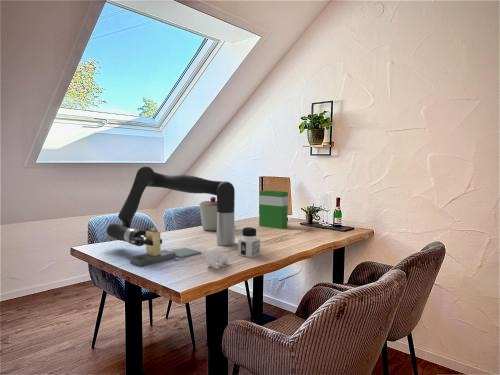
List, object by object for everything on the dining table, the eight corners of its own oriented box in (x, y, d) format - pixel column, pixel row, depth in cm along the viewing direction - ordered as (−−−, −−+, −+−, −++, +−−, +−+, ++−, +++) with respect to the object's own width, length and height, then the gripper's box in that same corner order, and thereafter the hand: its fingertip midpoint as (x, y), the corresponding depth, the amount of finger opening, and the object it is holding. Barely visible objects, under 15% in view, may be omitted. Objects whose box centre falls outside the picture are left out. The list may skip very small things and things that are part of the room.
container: (251, 257, 166) (252, 230, 165) (237, 255, 170) (238, 228, 169) (260, 254, 173) (260, 227, 172) (246, 251, 177) (246, 225, 176)
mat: (185, 249, 181) (185, 247, 181) (201, 253, 173) (201, 251, 173) (165, 253, 172) (165, 251, 172) (180, 258, 164) (180, 256, 164)
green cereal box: (259, 226, 246) (259, 191, 244) (264, 224, 252) (265, 190, 250) (281, 229, 236) (282, 192, 234) (287, 227, 242) (287, 191, 240)
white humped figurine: (203, 247, 150) (222, 244, 159) (202, 267, 150) (221, 263, 159) (214, 249, 146) (233, 246, 156) (213, 270, 146) (232, 266, 156)
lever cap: (154, 258, 163) (153, 227, 162) (160, 260, 160) (160, 229, 159) (146, 260, 160) (146, 228, 159) (152, 262, 157) (152, 230, 156)
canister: (211, 225, 245) (211, 194, 243) (232, 229, 234) (232, 196, 233) (192, 229, 230) (192, 197, 229) (214, 233, 220) (214, 199, 218)
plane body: (165, 254, 169) (165, 249, 169) (175, 258, 164) (175, 252, 164) (130, 262, 156) (130, 257, 156) (140, 266, 151) (140, 260, 151)
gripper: (121, 230, 163) (142, 236, 152) (148, 226, 174) (170, 231, 163) (121, 247, 164) (142, 254, 153) (149, 242, 175) (170, 248, 163)
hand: (156, 242), depth 158 cm, fingers closed on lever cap, 4 cm apart
